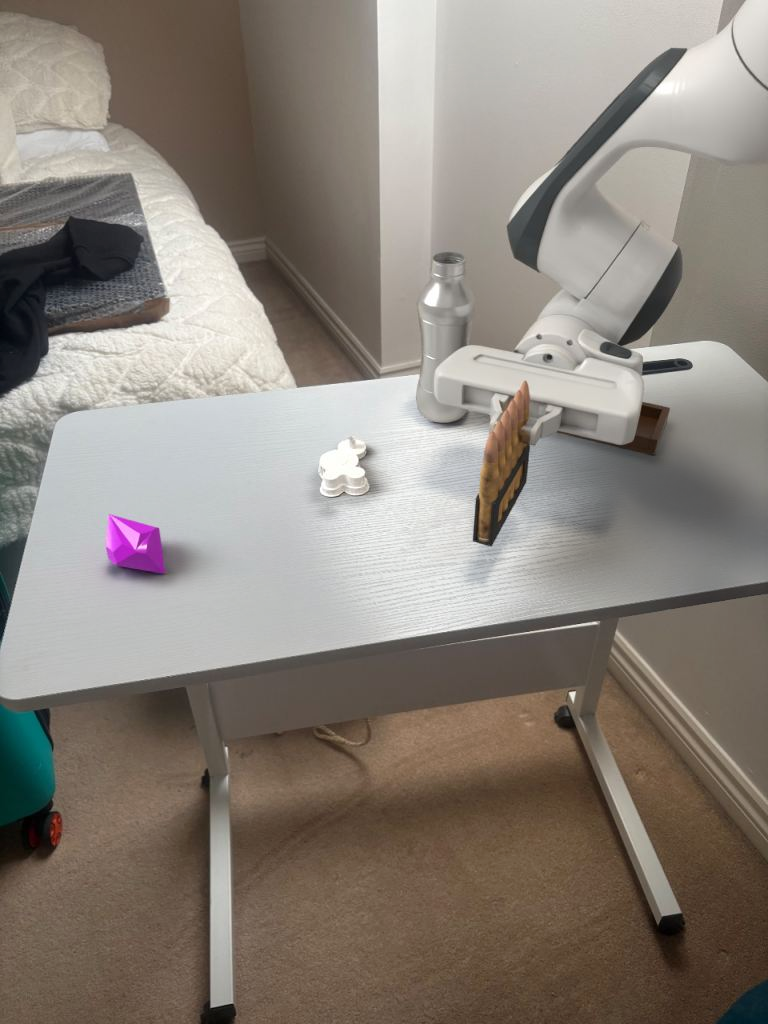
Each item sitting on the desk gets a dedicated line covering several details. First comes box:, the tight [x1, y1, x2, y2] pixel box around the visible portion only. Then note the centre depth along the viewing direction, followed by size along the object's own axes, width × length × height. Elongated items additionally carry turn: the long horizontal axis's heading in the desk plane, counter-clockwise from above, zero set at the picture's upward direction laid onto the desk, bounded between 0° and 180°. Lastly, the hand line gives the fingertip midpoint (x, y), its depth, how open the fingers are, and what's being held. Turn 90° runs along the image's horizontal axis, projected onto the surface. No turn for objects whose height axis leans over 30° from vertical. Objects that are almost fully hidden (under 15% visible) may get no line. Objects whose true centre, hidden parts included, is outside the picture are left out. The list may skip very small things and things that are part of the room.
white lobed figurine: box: [317, 435, 370, 509], centre depth 92 cm, size 9×9×2 cm
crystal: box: [105, 513, 166, 575], centre depth 81 cm, size 5×5×5 cm
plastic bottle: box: [415, 251, 477, 424], centre depth 96 cm, size 6×7×20 cm
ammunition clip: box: [472, 380, 531, 548], centre depth 76 cm, size 11×2×12 cm, turn 155°
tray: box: [557, 401, 671, 456], centre depth 99 cm, size 15×8×2 cm, turn 65°
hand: (512, 434), depth 76 cm, fingers closed on ammunition clip, 2 cm apart
